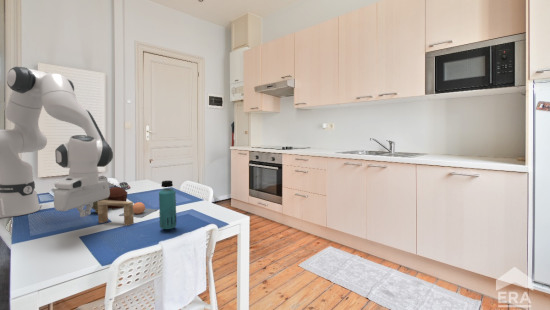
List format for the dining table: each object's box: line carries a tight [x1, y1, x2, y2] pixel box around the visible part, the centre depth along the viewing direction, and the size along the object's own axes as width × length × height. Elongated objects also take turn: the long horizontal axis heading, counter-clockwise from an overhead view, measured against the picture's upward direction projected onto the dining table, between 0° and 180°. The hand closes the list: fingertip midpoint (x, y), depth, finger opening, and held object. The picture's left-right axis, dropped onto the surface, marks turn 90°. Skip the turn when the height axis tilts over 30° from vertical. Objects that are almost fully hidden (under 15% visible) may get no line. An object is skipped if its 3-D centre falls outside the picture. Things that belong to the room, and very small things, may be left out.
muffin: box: [107, 186, 128, 210], centre depth 135 cm, size 12×11×10 cm
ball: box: [133, 201, 146, 214], centre depth 125 cm, size 6×6×6 cm
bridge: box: [97, 200, 135, 226], centre depth 112 cm, size 3×14×9 cm, turn 80°
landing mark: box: [118, 207, 159, 218], centre depth 127 cm, size 12×12×1 cm
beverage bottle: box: [158, 180, 178, 230], centre depth 105 cm, size 6×7×20 cm
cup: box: [92, 198, 108, 214], centre depth 126 cm, size 8×7×8 cm
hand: (85, 215), depth 99 cm, fingers closed
